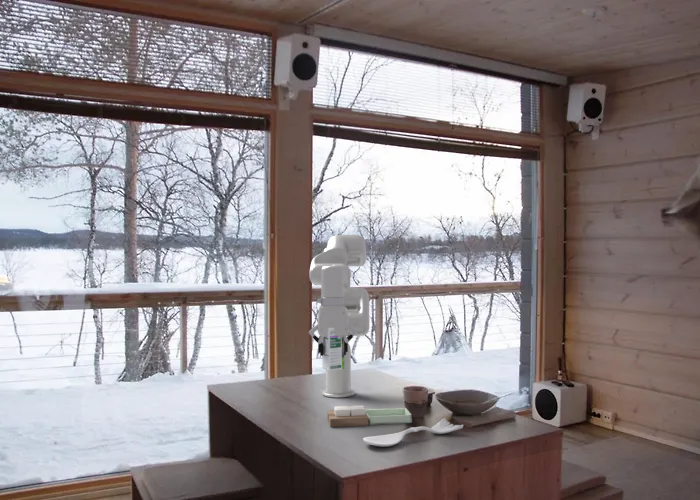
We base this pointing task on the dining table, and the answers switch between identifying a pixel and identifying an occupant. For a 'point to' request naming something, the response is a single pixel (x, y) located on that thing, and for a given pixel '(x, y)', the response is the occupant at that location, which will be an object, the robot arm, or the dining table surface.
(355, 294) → the robot arm
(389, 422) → the tray
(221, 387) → the dining table surface
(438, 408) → the dining table surface
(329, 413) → the board
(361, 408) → the tile
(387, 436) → the spoon
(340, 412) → the tile
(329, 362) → the syrup box
